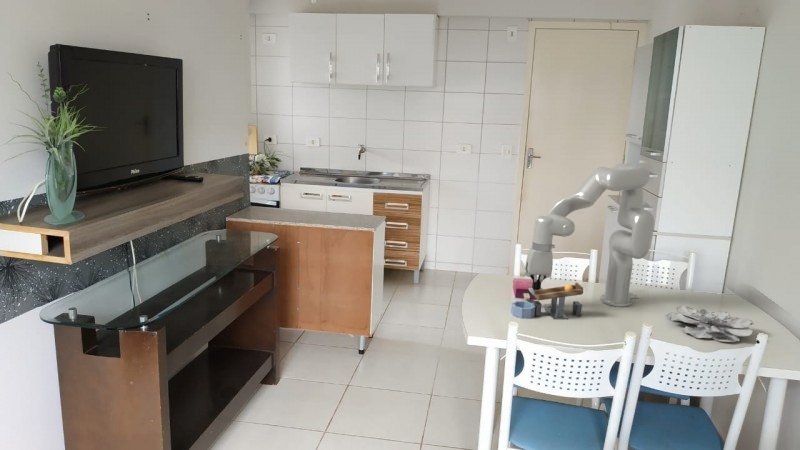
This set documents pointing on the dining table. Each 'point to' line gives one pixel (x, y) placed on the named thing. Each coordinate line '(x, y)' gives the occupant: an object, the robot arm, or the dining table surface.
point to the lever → (556, 292)
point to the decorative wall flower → (712, 324)
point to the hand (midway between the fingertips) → (535, 290)
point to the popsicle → (523, 288)
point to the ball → (568, 287)
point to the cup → (523, 309)
